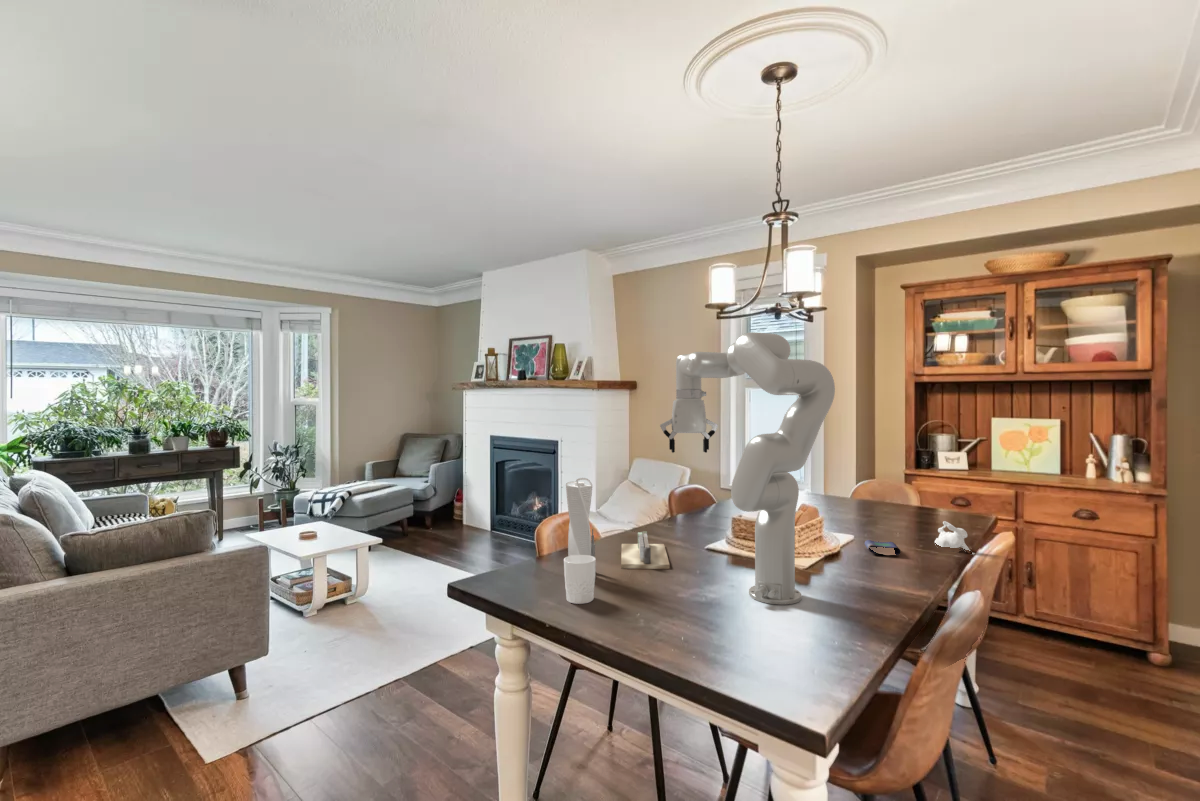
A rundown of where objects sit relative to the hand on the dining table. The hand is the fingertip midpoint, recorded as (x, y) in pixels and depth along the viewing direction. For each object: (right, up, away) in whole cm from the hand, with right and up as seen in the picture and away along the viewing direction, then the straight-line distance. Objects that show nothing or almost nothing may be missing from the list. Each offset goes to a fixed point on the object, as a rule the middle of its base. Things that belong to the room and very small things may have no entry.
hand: (689, 452), depth 174 cm
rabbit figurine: (+86, -33, +12) cm, 93 cm away
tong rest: (-13, -33, +5) cm, 36 cm away
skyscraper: (-32, -34, -14) cm, 49 cm away
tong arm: (-14, -32, +5) cm, 35 cm away
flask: (+62, -34, +5) cm, 71 cm away
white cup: (-32, -34, -32) cm, 56 cm away
